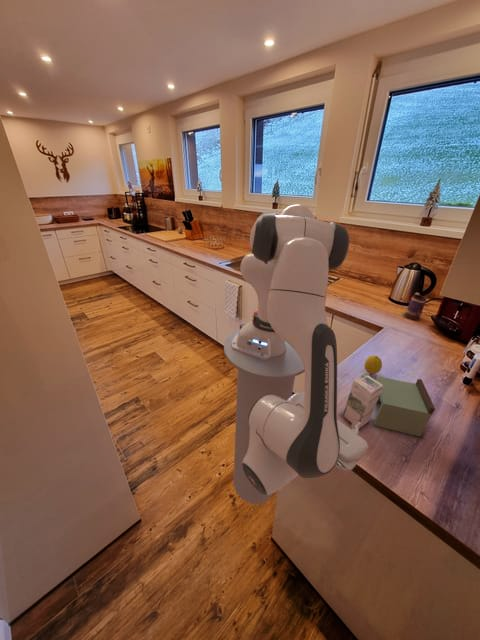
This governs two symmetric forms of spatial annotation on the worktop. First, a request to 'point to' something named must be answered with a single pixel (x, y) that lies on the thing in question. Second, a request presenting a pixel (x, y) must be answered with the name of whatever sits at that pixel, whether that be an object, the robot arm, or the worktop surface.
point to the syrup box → (362, 399)
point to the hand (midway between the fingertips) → (341, 410)
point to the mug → (415, 307)
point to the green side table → (403, 406)
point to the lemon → (373, 364)
